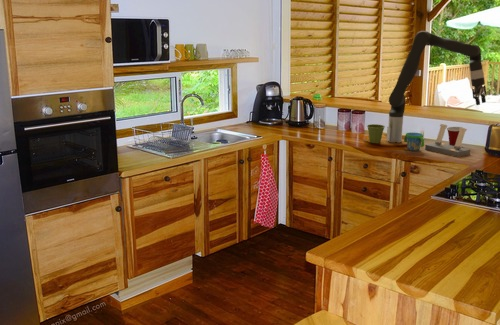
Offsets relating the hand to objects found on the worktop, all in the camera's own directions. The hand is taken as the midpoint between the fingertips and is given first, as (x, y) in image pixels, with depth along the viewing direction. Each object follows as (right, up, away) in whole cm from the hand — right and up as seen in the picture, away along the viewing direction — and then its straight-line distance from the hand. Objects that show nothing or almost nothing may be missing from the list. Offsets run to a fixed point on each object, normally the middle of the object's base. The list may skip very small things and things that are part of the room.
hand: (481, 103), depth 340 cm
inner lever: (-23, -24, +10) cm, 35 cm away
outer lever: (-15, -27, -2) cm, 31 cm away
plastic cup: (-9, -26, +20) cm, 34 cm away
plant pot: (-58, -23, +32) cm, 70 cm away
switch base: (-19, -29, +5) cm, 35 cm away
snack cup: (-39, -28, +11) cm, 49 cm away
